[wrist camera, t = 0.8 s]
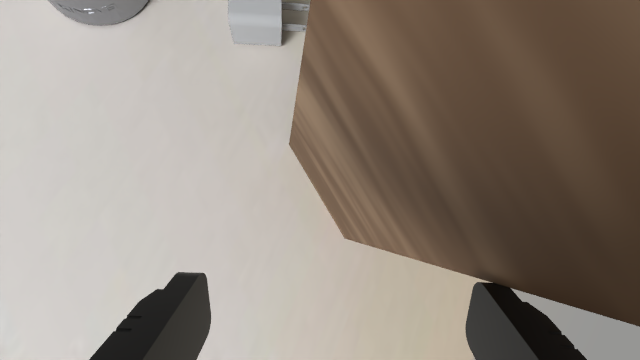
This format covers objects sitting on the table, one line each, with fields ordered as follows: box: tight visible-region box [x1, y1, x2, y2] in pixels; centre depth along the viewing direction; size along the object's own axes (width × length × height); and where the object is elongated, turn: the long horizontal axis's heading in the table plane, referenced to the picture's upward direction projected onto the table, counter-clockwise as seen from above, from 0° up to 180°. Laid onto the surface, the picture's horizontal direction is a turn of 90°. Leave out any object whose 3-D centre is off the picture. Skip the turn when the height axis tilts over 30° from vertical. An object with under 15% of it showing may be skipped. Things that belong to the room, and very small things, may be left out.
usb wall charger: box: [228, 0, 310, 46], centre depth 28 cm, size 4×7×4 cm, turn 91°
